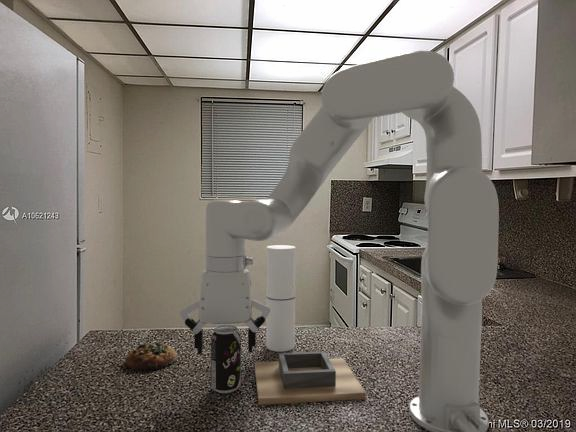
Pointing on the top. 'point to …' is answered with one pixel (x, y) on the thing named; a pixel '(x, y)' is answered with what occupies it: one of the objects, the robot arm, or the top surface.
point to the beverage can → (225, 359)
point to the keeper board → (305, 379)
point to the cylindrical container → (280, 298)
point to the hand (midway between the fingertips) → (225, 350)
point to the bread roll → (151, 357)
